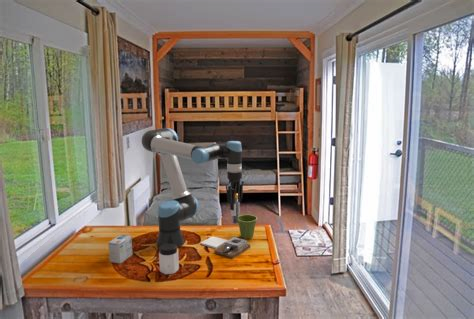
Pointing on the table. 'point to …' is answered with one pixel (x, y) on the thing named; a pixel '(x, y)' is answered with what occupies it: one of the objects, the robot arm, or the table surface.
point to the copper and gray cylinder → (235, 218)
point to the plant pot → (247, 225)
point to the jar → (168, 258)
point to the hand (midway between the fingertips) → (235, 214)
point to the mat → (213, 242)
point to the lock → (233, 247)
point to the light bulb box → (120, 248)
